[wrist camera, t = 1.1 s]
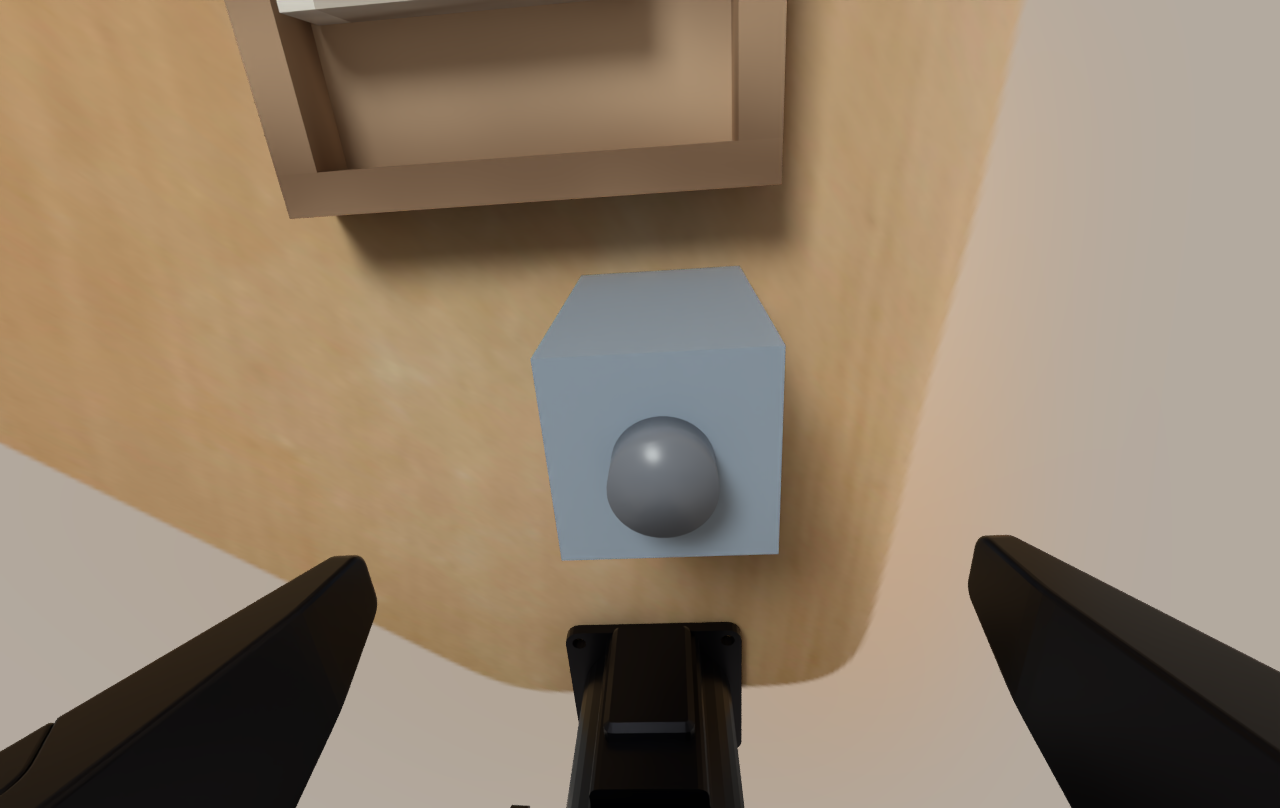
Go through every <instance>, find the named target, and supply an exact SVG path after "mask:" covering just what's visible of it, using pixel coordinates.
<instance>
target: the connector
mask: <svg viewBox="0 0 1280 808" xmlns="http://www.w3.org/2000/svg"><path fill="white" fill-rule="evenodd" d="M531 365H532V371H533V378H534V384H535V390H536V397H537V403H538V410H539V416H540V423H541V429H542V436H543V442H544V449H545V455H546V462H547V468H548V474H549V481H550V487H551V494H552V500H553V507H554V513H555V520H556V526H557V533H558V539H559V546H560V552H561V559H562V560H595V559H628V558H661V557H694V556H727V555H760V554H779V524H780V494H781V465H782V435H783V405H784V375H785V344H784V342H783V340H782V339H781V337H780V335H779V333H778V332H777V330H776V328H775V326H774V325H773V323H772V321H771V320H770V318H769V316H768V314H767V313H766V311H765V309H764V307H763V306H762V304H761V302H760V300H759V299H758V297H757V295H756V294H755V292H754V290H753V288H752V287H751V285H750V283H749V281H748V280H747V278H746V276H745V274H744V273H743V271H742V269H741V267H740V266H726V267H710V268H694V269H678V270H661V271H645V272H629V273H613V274H597V275H581V277H580V279H579V280H578V282H577V284H576V285H575V287H574V289H573V290H572V292H571V293H570V295H569V297H568V298H567V300H566V302H565V303H564V305H563V307H562V308H561V310H560V312H559V313H558V315H557V316H556V318H555V320H554V321H553V323H552V325H551V326H550V328H549V330H548V331H547V333H546V335H545V336H544V338H543V339H542V341H541V343H540V344H539V346H538V348H537V349H536V351H535V353H534V354H533V356H532V358H531Z"/></svg>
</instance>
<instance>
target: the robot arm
mask: <svg viewBox="0 0 1280 808" xmlns="http://www.w3.org/2000/svg"><path fill="white" fill-rule="evenodd" d="M968 590H969V595H970V599H971V601H972V604H973V606H974V609H975V611H976V613H977V616H978V618H979V621H980V623H981V625H982V628H983V630H984V632H985V635H986V637H987V639H988V642H989V644H990V647H991V649H992V651H993V654H994V656H995V659H996V661H997V663H998V666H999V668H1000V670H1001V673H1002V675H1003V678H1004V680H1005V683H1006V685H1007V687H1008V689H1009V691H1010V694H1011V696H1012V698H1013V700H1014V702H1015V704H1016V706H1017V708H1018V710H1019V712H1020V714H1021V716H1022V718H1023V720H1024V721H1025V723H1026V725H1027V727H1028V729H1029V731H1030V732H1031V734H1032V736H1033V738H1034V740H1035V742H1036V744H1037V745H1038V747H1039V749H1040V751H1041V753H1042V754H1043V756H1044V758H1045V760H1046V762H1047V763H1048V765H1049V767H1050V769H1051V771H1052V773H1053V775H1054V776H1055V778H1056V780H1057V782H1058V784H1059V785H1060V787H1061V789H1062V791H1063V793H1064V795H1065V797H1066V798H1067V800H1068V802H1069V804H1070V806H1071V808H1280V672H1279V671H1277V670H1275V669H1273V668H1271V667H1269V666H1267V665H1265V664H1263V663H1261V662H1259V661H1257V660H1255V659H1253V658H1252V657H1250V656H1247V655H1246V654H1244V653H1242V652H1240V651H1238V650H1236V649H1234V648H1232V647H1230V646H1228V645H1226V644H1224V643H1222V642H1220V641H1218V640H1216V639H1214V638H1212V637H1210V636H1208V635H1206V634H1204V633H1202V632H1201V631H1199V630H1197V629H1195V628H1193V627H1191V626H1188V625H1187V624H1185V623H1183V622H1181V621H1179V620H1177V619H1175V618H1173V617H1171V616H1169V615H1167V614H1165V613H1163V612H1161V611H1159V610H1157V609H1155V608H1153V607H1151V606H1150V605H1148V604H1146V603H1144V602H1142V601H1140V600H1138V599H1135V598H1134V597H1132V596H1130V595H1128V594H1126V593H1124V592H1122V591H1120V590H1118V589H1116V588H1114V587H1112V586H1110V585H1108V584H1106V583H1104V582H1102V581H1100V580H1098V579H1096V578H1095V577H1093V576H1091V575H1089V574H1087V573H1085V572H1083V571H1081V570H1079V569H1077V568H1075V567H1073V566H1071V565H1069V564H1067V563H1065V562H1063V561H1061V560H1059V559H1057V558H1055V557H1053V556H1051V555H1049V554H1048V553H1046V552H1043V551H1042V550H1040V549H1038V548H1036V547H1034V546H1032V545H1030V544H1028V543H1026V542H1024V541H1022V540H1020V539H1018V538H1016V537H1014V536H1011V535H990V536H982V537H980V538H979V539H978V541H977V542H976V545H975V549H974V554H973V559H972V564H971V569H970V574H969V579H968ZM376 610H377V597H376V593H375V590H374V587H373V584H372V581H371V578H370V575H369V572H368V568H367V565H366V563H365V561H364V559H363V558H362V557H360V556H357V555H349V556H334V557H331V558H329V559H327V560H325V561H324V562H322V563H320V564H319V565H317V566H315V567H313V568H312V569H310V570H308V571H307V572H305V573H303V574H302V575H300V576H298V577H296V578H295V579H293V580H291V581H290V582H288V583H286V584H285V585H283V586H281V587H279V588H278V589H276V590H274V591H273V592H271V593H269V594H268V595H266V596H264V597H262V598H261V599H259V600H257V601H256V602H254V603H252V604H251V605H249V606H247V607H246V608H244V609H242V610H240V611H239V612H237V613H235V614H234V615H232V616H230V617H229V618H227V619H225V620H224V621H222V622H220V623H218V624H217V625H215V626H213V627H212V628H210V629H208V630H206V631H205V632H203V633H201V634H200V635H198V636H196V637H195V638H193V639H191V640H189V641H188V642H186V643H185V644H183V645H181V646H179V647H178V648H176V649H174V650H172V651H171V652H169V653H167V654H166V655H164V656H162V657H161V658H159V659H157V660H155V661H154V662H152V663H150V664H149V665H147V666H145V667H144V668H142V669H140V670H138V671H137V672H135V673H133V674H132V675H130V676H128V677H127V678H125V679H123V680H121V681H120V682H118V683H117V684H115V685H113V686H111V687H110V688H108V689H106V690H104V691H103V692H101V693H99V694H98V695H96V696H94V697H93V698H91V699H89V700H88V701H86V702H84V703H83V704H81V705H79V706H77V707H76V708H74V709H72V710H71V711H69V712H67V713H65V714H64V715H62V716H60V717H59V718H57V720H56V721H55V723H48V724H46V725H45V726H43V727H41V728H40V729H38V730H36V731H34V732H33V733H31V734H29V735H28V736H26V737H24V738H23V739H21V740H19V741H18V742H16V743H14V744H13V745H11V746H9V747H7V748H6V749H4V750H2V751H0V808H296V806H297V804H298V802H299V799H300V797H301V795H302V793H303V791H304V789H305V787H306V785H307V782H308V780H309V778H310V776H311V774H312V772H313V770H314V768H315V766H316V763H317V761H318V759H319V757H320V755H321V753H322V751H323V749H324V746H325V744H326V742H327V740H328V738H329V736H330V734H331V732H332V729H333V727H334V725H335V723H336V720H337V718H338V716H339V714H340V711H341V709H342V706H343V704H344V701H345V698H346V696H347V693H348V691H349V688H350V685H351V682H352V679H353V676H354V674H355V671H356V668H357V665H358V662H359V660H360V657H361V654H362V651H363V648H364V646H365V643H366V640H367V637H368V634H369V631H370V628H371V626H372V623H373V620H374V617H375V614H376ZM727 635H729V636H730V637H724V636H727ZM578 638H579V639H583V640H577V639H578ZM566 647H567V653H568V660H569V666H570V672H571V678H572V684H573V690H574V696H575V703H576V708H577V715H578V720H579V726H578V732H577V740H576V746H575V753H574V760H573V767H572V774H571V780H570V787H569V794H568V800H567V807H566V808H744V801H743V792H742V783H741V775H740V766H739V758H738V749H737V748H738V747H739V746H740V744H741V661H742V640H741V633H740V629H739V627H738V626H737V625H736V624H734V623H730V622H706V623H662V624H619V625H579V626H574V627H572V628H570V630H569V631H568V634H567V639H566ZM511 808H530V806H521V805H512V806H511Z"/></svg>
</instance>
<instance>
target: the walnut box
mask: <svg viewBox="0 0 1280 808" xmlns="http://www.w3.org/2000/svg"><path fill="white" fill-rule="evenodd" d="M224 2H225V5H226V8H227V12H228V15H229V18H230V22H231V25H232V28H233V32H234V35H235V38H236V42H237V45H238V48H239V51H240V55H241V58H242V61H243V65H244V68H245V71H246V75H247V78H248V81H249V85H250V88H251V91H252V95H253V98H254V101H255V105H256V108H257V111H258V114H259V118H260V121H261V124H262V128H263V131H264V134H265V138H266V141H267V144H268V148H269V151H270V154H271V158H272V161H273V164H274V168H275V171H276V174H277V177H278V181H279V184H280V187H281V191H282V194H283V197H284V201H285V204H286V207H287V211H288V214H289V217H290V219H295V218H309V217H324V216H338V215H352V214H366V213H381V212H395V211H409V210H423V209H438V208H452V207H466V206H480V205H495V204H509V203H523V202H537V201H552V200H566V199H580V198H594V197H609V196H623V195H637V194H651V193H666V192H680V191H694V190H708V189H723V188H737V187H751V186H765V185H780V184H782V159H783V123H784V87H785V51H786V15H787V0H224Z"/></svg>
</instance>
